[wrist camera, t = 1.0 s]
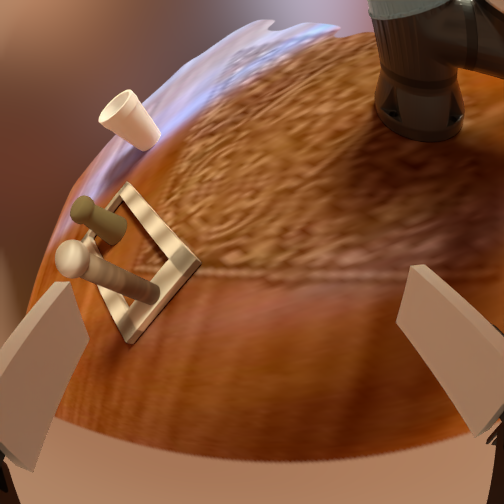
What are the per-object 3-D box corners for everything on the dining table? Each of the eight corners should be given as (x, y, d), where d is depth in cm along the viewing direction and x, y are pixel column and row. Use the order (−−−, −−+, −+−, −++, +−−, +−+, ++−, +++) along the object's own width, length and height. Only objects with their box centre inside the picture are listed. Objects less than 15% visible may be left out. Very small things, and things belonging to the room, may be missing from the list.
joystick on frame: (202, 263, 42) (106, 199, 26) (133, 345, 41) (29, 318, 26) (131, 184, 57) (69, 134, 41) (84, 246, 57) (18, 208, 41)
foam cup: (169, 137, 58) (133, 98, 48) (137, 163, 60) (98, 129, 49) (162, 119, 63) (129, 84, 52) (133, 143, 65) (98, 111, 54)
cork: (118, 213, 56) (79, 187, 46) (131, 222, 52) (89, 194, 43) (102, 238, 55) (62, 215, 46) (115, 249, 52) (71, 225, 42)
